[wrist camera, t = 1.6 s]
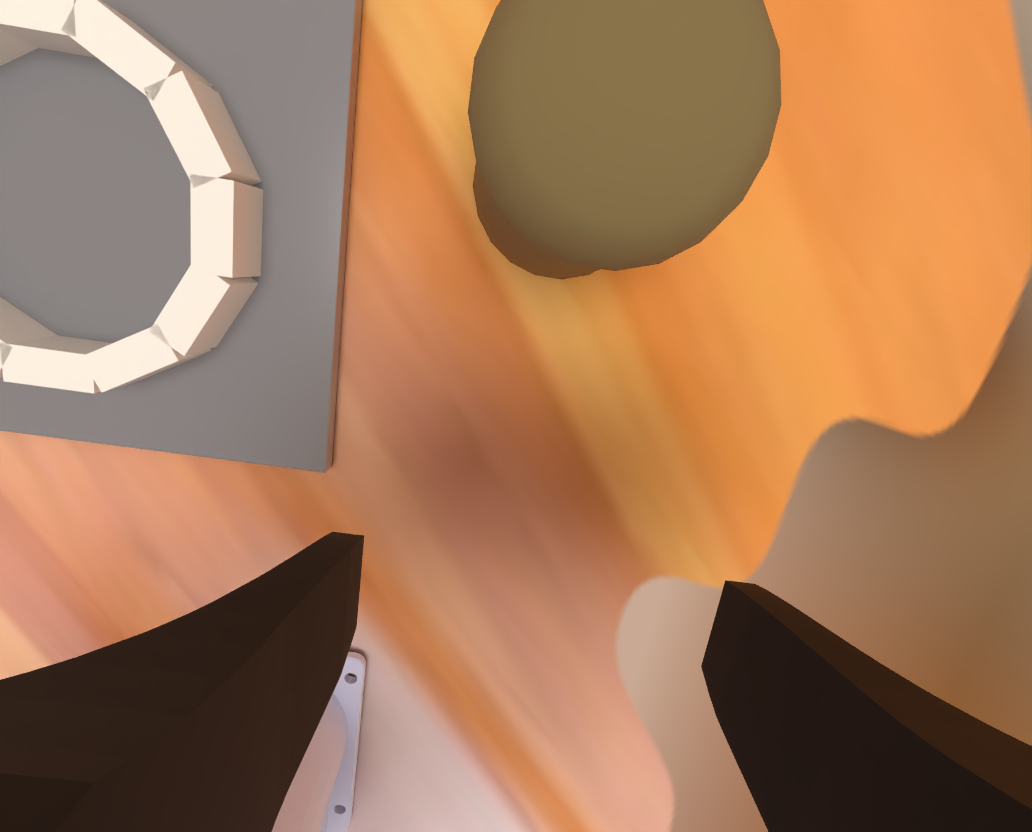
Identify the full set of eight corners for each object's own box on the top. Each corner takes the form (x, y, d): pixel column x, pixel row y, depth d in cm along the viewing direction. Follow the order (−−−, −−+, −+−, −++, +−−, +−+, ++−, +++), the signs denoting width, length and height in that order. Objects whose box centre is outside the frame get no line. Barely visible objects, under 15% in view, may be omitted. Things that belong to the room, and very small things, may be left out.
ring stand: (331, 464, 21) (306, 494, 18) (-116, 406, 20) (-212, 428, 17) (364, -27, 17) (338, -82, 14) (-198, -130, 16) (-342, -210, 13)
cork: (616, 302, 20) (747, 348, 9) (451, 246, 19) (385, 227, 8) (680, 122, 18) (929, -74, 8) (504, 56, 18) (505, -257, 7)
